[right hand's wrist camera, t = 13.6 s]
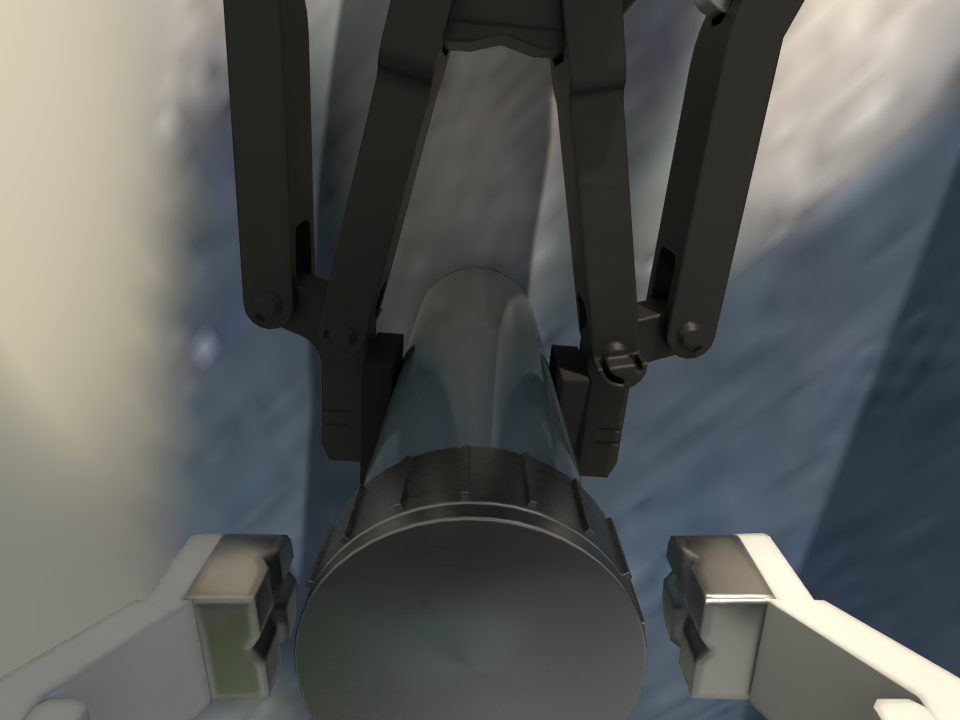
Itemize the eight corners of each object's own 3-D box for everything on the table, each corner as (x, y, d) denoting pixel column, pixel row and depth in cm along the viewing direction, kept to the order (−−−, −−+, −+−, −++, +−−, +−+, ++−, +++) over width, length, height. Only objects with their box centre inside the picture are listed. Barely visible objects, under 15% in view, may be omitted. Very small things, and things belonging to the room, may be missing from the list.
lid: (667, 480, 10) (707, 558, 8) (573, 714, 12) (590, 822, 10) (352, 409, 10) (322, 475, 8) (300, 661, 11) (266, 765, 10)
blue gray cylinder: (548, 283, 24) (664, 553, 9) (516, 391, 25) (571, 775, 10) (431, 254, 23) (349, 485, 9) (405, 365, 25) (298, 725, 10)
